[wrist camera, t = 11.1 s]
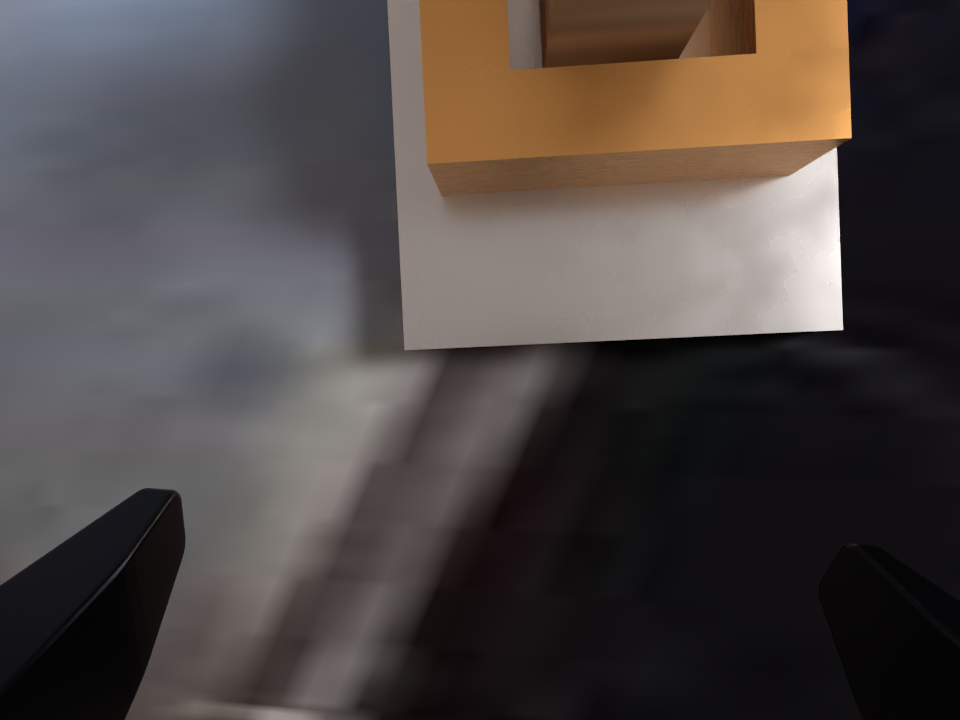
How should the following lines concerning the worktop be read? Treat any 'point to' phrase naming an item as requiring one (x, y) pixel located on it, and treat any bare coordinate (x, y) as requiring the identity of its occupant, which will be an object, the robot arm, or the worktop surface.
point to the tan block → (616, 30)
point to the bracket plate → (603, 242)
